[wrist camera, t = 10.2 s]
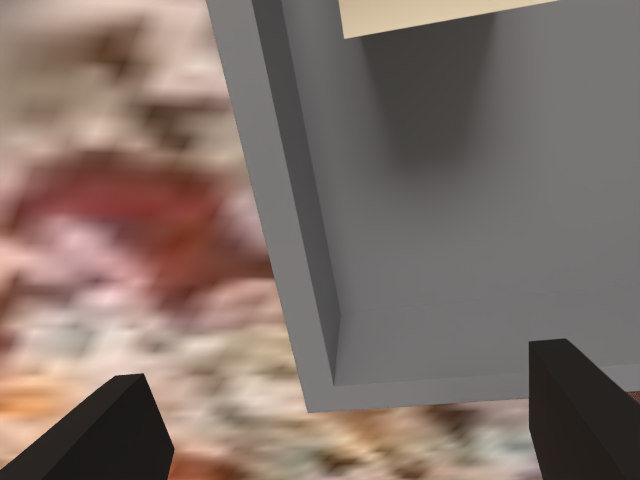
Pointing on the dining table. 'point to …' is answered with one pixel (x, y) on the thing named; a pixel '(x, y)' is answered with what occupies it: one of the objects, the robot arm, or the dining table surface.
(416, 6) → the birch block
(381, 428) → the dining table surface
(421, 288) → the bin
